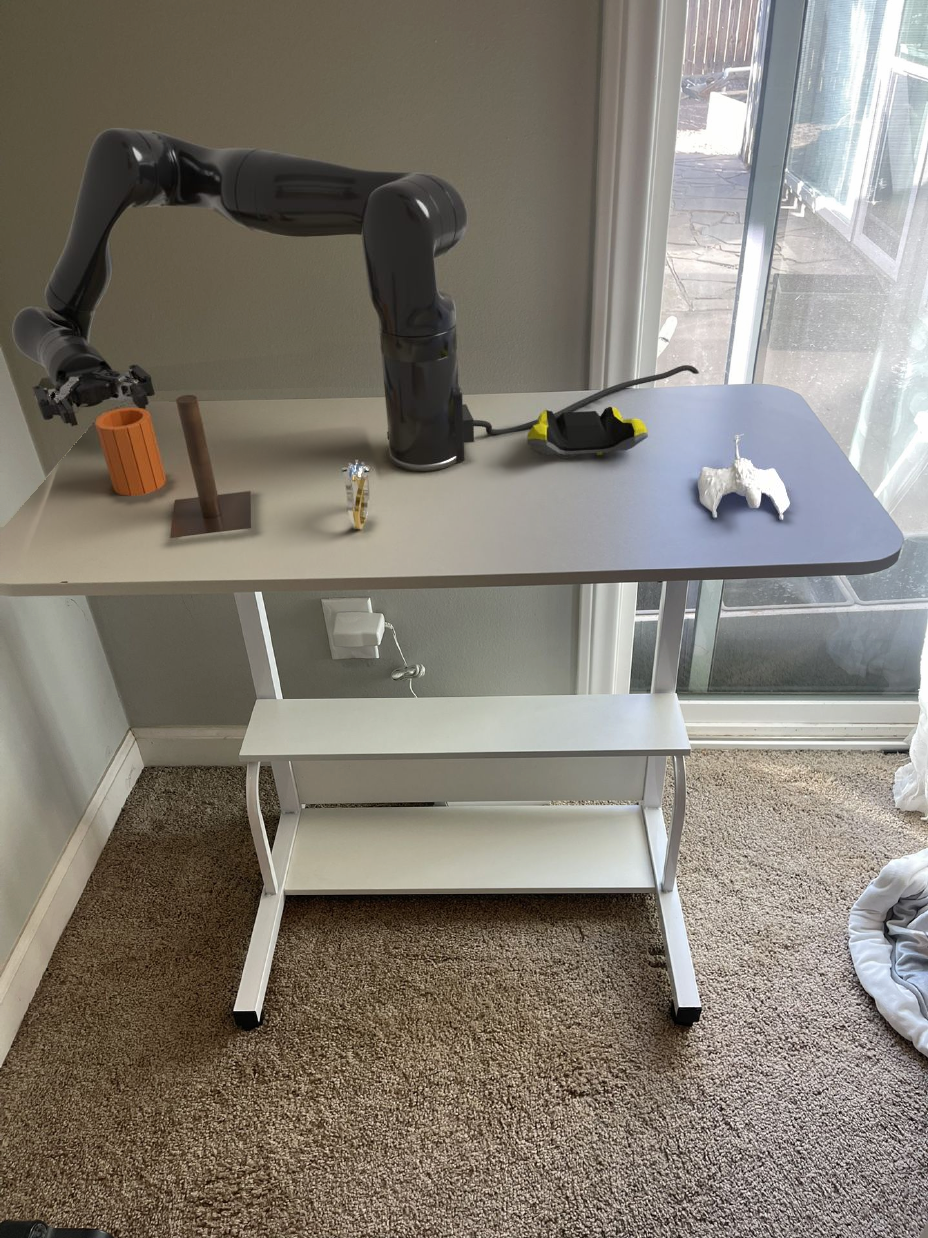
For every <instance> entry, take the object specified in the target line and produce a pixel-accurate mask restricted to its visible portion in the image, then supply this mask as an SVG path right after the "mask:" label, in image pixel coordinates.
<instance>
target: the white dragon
mask: <svg viewBox="0 0 928 1238" xmlns="http://www.w3.org/2000/svg"><path fill="white" fill-rule="evenodd" d="M744 435H745V433H742V434H736V435H735V436H734V439H733V442H734V443H735V444H734V460H733V462H731V465H730V466H729V467H726V468H725V467H723V468H718V469H716V468H712V467H708V466H704V467H702V468H701V471H700V473H699V476H698V479H697V487H698V493H699V502H700V503H701V505H702V506H704V507H705V508H706V509H708V510H709V511H711V513H712V517H713V519H717V518H718V512H717V508H718V506H719V504H720V502H721V500H722V498H723V496H726V495H729V494H731V493H735V494H737V495H739V496H741V497H745V499H746V502H747V506H748V507H749V508H751V509H758V508H759V507H760V505H761V501H762V494H764V495H766V496H767V497H768V498H770V500H771V502H772V503H773V505H774V507H775V509H776V511H777V512H778V519H779V521H783V520H784V512H786V510H787V509H788V508H789V507H790V504H791V502H790V499H789V497H788V493H787V490H786V486H785V484H784V482H783V481H782V479H781V478H780V476H779V474H778V472H777V471H776V469H775V468H773V467H771V468H768V469H762V468H757V467H756V466H754V464H753V463H752V460H750V459H747V458H745V457H740V454H739V446H738V442H739V441H740V440H741V438H742V436H744Z"/></svg>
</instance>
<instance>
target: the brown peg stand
mask: <svg viewBox="0 0 928 1238" xmlns="http://www.w3.org/2000/svg"><path fill="white" fill-rule="evenodd" d="M175 401H176V402H175V403H176V406H177V411H178V415H179V420H180V424H181V428H182V432H183V436H184V441H185V445H186V449H187V455H188V459H189V462H190V467H191V471H192V475H193V480H194V484H195V488H196V494H197V496H196V497H189V498H188V497H187V498H180V499H174V506H173V512H172V523H171V530H170V539H174V538H182V537H190V536H198V535H206V534H215V533H223V532H231V531H238V530H247V529H252V499H251V498H252V495H251V494H252V493H251V490H248V491H247V490H246V491H238V492H230V493H229V492H228V493H221V494H218V489H217V484H216V479H215V475H214V470H213V466H212V462H211V461H212V460H211V457H210V452H209V448H208V444H207V438H206V433H205V429H204V423H203V420H202V415H201V411H200V405H199V401H198V397H197V396H196V395H193V394H185V395H181V396H178V397H177V398H176V399H175Z"/></svg>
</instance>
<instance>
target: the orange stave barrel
mask: <svg viewBox="0 0 928 1238" xmlns="http://www.w3.org/2000/svg"><path fill="white" fill-rule="evenodd" d="M151 417H152V416H151V413H150V412H149V411H148V410H146V409H142V408H138V407H134V406H133V407H123V408H119V409H118V408H115V409H112V410H109V411H106V412H104V413H103V414H101V415H99V416H98V417H96V419H95V422H94V425H95V429H96V433H97V436H98V439H99V443H100V446H101V449H102V454H103V457H104V461H105V463H106V467H107V471H108V474H109V477H110V480H111V484H112V487H113V490H114V491H115V493H117V494H118V495H120V496H121V495H122V496H128V497H134V496H143V495H148V494H150V493H153V492H155V491H157V490H159V489H161V488H162V487H163V486H165V484H166V481H167V480H166V479H167V476H166V473H165V469H164V464H163V461H162V457H161V453H160V449H159V444H158V441H157V437H156V432H155V429H154V425H153V422H152V421H153V420H152V418H151Z"/></svg>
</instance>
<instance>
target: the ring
mask: <svg viewBox="0 0 928 1238" xmlns="http://www.w3.org/2000/svg"><path fill="white" fill-rule="evenodd" d="M354 462H355V464H353V463H352V462H348V465H347V466H344V467H342V468H341V473H342V476H343V480H344V485H345V491H346V502H347V510H348V512H347V513H348V518H349V522H350V525H351V527H352V528H353V529H354V530H360V531H361V530H362V529H363V526H364V525H365V523H366V520H367V517H368V515H369V511H370V481H369V474H370V471H371V467H370V465H366V463H365V462H363V461H362V462H361V465H360V461H359V459H355V461H354ZM352 482H353V483H356V484H357V491H356V497H354V489H353V483H352Z"/></svg>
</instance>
